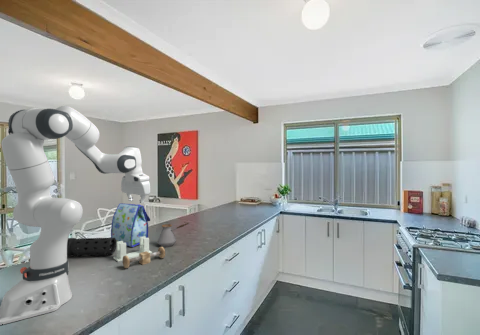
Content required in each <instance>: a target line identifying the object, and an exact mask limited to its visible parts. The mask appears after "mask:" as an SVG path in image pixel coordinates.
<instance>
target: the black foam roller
mask: <svg viewBox="0 0 480 335" xmlns="http://www.w3.org/2000/svg"><path fill="white" fill-rule="evenodd" d="M116 251H117V242H116V239H115V238H111V237H90V238H89V237H87V238H85V237H84V238H83V237H82V238H81V237H79V238H76V237H68V242H67V257H68V256H73V257H74V256H76V257H81V256H92V257H93V256H96V257H97V256H113V254H114V253H115V252H116Z"/></svg>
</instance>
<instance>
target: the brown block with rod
mask: <svg viewBox="0 0 480 335" xmlns="http://www.w3.org/2000/svg"><path fill="white" fill-rule="evenodd" d="M156 256H158V257H159V258H160V259H163V258H165V257H166V250H165V247H162V246H159V247H158V249H157V251H155V252H152V253H149V252H147V251H146V252H142V253H139V257H135V258H131V259H129V257H128V256H127V255H126V256H123V261H122V266H123V268H124V269H128V268H130V265H131V263H134V262H137V261H138V262H139V263H138V264H140V265H142V266H143V265H147V264H150V263H151V258H153V257H156Z"/></svg>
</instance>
